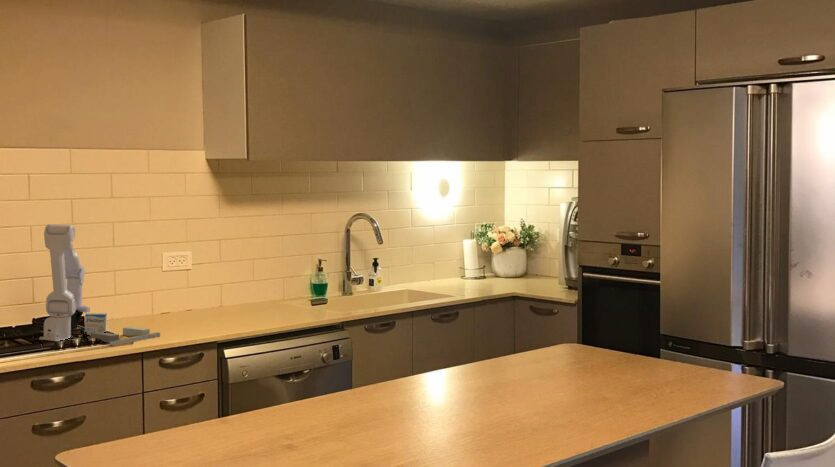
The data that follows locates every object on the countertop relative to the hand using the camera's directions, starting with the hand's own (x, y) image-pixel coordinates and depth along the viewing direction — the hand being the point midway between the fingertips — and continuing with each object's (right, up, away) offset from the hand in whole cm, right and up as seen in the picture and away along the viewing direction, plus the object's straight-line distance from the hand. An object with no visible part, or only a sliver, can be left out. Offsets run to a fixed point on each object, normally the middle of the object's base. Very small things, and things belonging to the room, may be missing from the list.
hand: (73, 328), depth 365 cm
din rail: (+29, -3, -13) cm, 32 cm away
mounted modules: (+22, -3, -10) cm, 24 cm away
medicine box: (+10, -2, -5) cm, 12 cm away
